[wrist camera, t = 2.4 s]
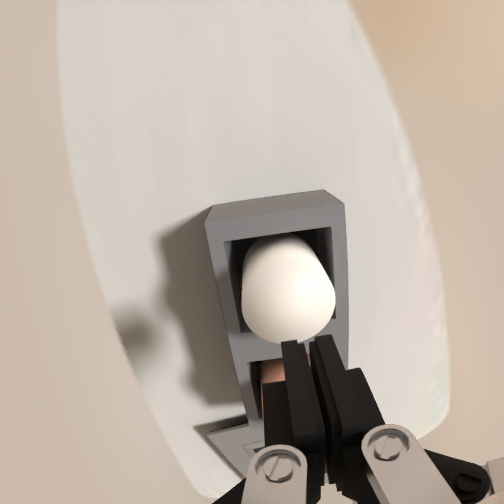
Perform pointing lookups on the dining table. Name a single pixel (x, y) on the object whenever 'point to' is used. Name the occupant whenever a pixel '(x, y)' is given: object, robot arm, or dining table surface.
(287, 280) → the white button
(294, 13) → the dining table surface
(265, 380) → the pink button
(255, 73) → the dining table surface
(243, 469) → the electrical outlet
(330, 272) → the button console
